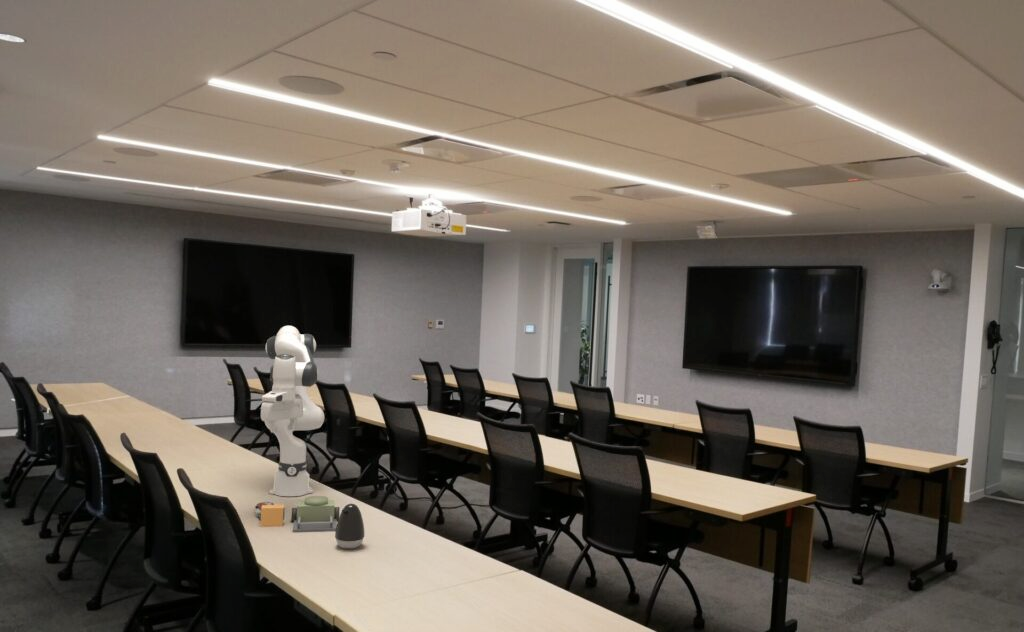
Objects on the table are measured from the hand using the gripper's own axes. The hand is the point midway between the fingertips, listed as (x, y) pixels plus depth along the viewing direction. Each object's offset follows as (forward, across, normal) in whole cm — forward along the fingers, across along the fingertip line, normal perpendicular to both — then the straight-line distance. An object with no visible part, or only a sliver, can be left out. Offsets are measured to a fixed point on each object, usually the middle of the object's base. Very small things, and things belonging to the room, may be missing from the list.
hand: (282, 430), depth 284 cm
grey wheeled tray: (+35, -3, +16) cm, 38 cm away
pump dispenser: (+36, +11, +42) cm, 57 cm away
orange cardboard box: (+35, +6, +2) cm, 36 cm away
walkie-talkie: (+35, -2, -8) cm, 36 cm away
